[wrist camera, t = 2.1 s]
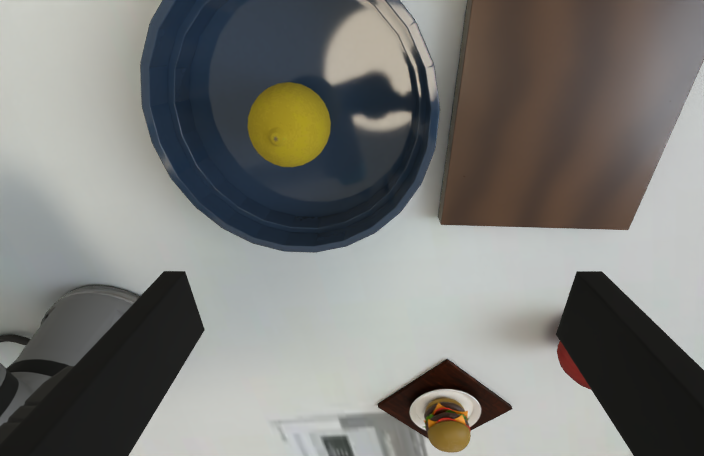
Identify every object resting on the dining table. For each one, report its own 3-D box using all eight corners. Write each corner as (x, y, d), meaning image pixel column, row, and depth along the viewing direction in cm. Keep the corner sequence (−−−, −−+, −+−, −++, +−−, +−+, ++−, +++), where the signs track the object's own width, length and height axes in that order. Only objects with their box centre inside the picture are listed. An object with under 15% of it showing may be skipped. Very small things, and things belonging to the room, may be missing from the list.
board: (437, 217, 31) (440, 224, 30) (470, -23, 22) (476, -28, 21) (617, 222, 30) (628, 230, 29) (721, -26, 22) (744, -31, 20)
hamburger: (440, 442, 47) (447, 487, 43) (378, 403, 44) (378, 447, 39) (511, 405, 43) (528, 450, 38) (447, 359, 39) (457, 402, 35)
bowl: (207, 221, 33) (181, 248, 28) (148, -39, 23) (94, -60, 19) (416, 227, 32) (422, 256, 27) (443, -43, 22) (461, -67, 18)
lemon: (268, 72, 26) (228, 81, 19) (340, 84, 26) (326, 97, 19) (267, 144, 28) (231, 175, 21) (331, 154, 28) (317, 189, 21)
